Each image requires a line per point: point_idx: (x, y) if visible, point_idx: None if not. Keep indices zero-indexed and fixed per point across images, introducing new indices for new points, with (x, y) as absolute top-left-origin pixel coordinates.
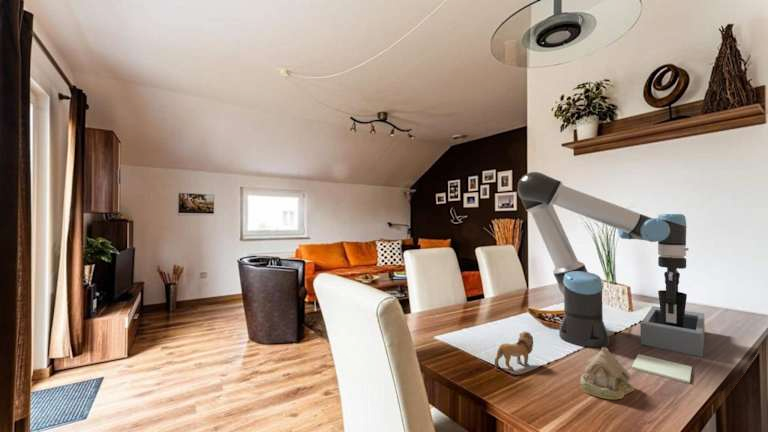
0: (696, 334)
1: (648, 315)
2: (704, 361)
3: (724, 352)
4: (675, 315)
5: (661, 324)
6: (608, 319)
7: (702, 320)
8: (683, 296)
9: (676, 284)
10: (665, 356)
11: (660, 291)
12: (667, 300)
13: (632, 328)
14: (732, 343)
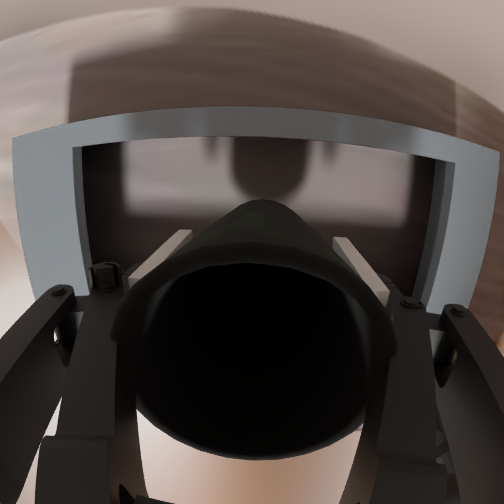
0: (495, 170)
1: None
2: None
3: (335, 66)
4: (361, 258)
5: (433, 295)
6: None
7: (174, 113)
8: (354, 276)
9: (437, 473)
10: (487, 244)
11: (220, 445)
12: (452, 359)
13: None
14: (166, 42)
